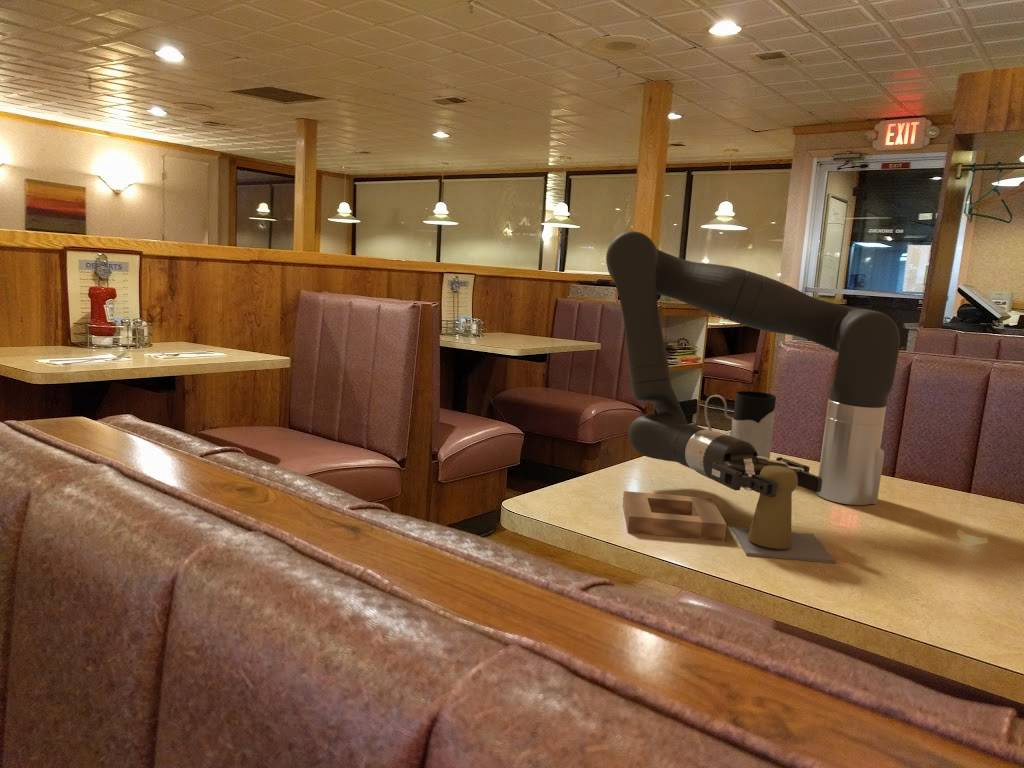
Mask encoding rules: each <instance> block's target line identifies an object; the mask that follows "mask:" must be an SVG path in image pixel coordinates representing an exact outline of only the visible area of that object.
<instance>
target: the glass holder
mask: <svg viewBox="0 0 1024 768" xmlns="http://www.w3.org/2000/svg"><path fill="white" fill-rule="evenodd" d="M714 397H715V398H719V399H721V401H722V402H723V405H724V417H725V418H727V420H728V419H729V420H731V428H730V434H729V436H732V437H735V438H737V439H740V440H743V441H746V442H748V443H750V444H751V445H752V446H753V447H754V448H755V450H756V452H757V454H758V456H762V457H767V458H768V459H770V458H771V453H772V452H771V449H772V442H773V441H772V440H773V435H774V428H775V427H774V425H775V419H776V418H775V416H776V403H777V402H776V400H777V396H776V395H774V394H772V393H767V392H760V391H754V390H753V391H751V390H740V391H736V392H735V398H734V399H735V400H734V410H733V417H731V416H729V415H728V404H727V401H726V399H725V397H723V396H721V395H719V394H714V395H713V394H712V395H711V396H708V397H707V399H706V400H705V403H704V418H705V419H704V420H705V423H706V426H707V428H708V430H710V431H714V430H713V429H712V427H711V424H710V422H709V419H708V412H707V411H708V410H707V409H708V403H709V400H710V399H712V398H714ZM770 460H771V459H770Z"/></svg>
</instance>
